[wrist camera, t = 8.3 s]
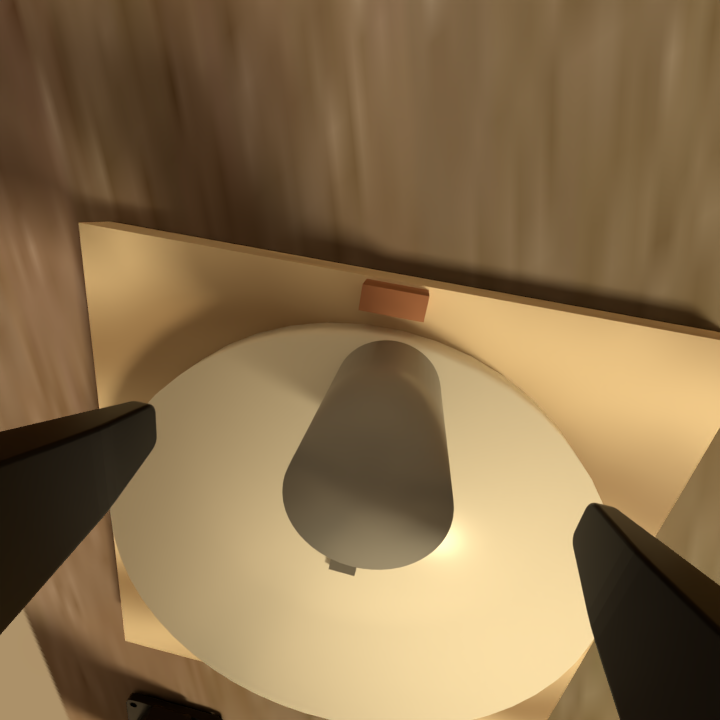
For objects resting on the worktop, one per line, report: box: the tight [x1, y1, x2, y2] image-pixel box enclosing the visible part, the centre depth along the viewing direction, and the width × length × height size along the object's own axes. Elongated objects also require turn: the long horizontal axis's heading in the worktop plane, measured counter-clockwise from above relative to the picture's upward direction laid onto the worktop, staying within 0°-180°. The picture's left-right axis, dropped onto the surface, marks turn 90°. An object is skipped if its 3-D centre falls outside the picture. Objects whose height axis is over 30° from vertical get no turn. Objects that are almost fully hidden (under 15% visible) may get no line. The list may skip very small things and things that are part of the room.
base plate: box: [79, 222, 720, 720], centre depth 17 cm, size 22×22×2 cm
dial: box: [110, 322, 603, 720], centre depth 13 cm, size 19×19×6 cm
